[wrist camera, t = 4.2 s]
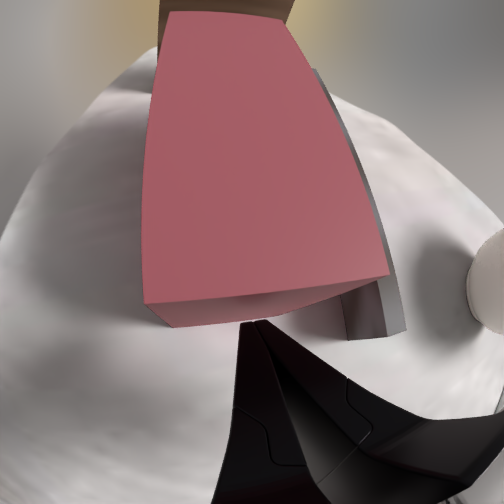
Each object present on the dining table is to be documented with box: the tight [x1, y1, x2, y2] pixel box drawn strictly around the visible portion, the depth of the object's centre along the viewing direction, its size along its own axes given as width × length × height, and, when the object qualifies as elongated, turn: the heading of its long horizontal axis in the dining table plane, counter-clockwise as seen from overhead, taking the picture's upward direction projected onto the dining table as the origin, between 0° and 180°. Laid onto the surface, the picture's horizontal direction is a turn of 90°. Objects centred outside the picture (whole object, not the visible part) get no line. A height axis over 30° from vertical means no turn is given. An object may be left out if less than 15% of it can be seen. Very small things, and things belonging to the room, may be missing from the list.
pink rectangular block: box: [141, 11, 390, 328], centre depth 12 cm, size 14×6×10 cm, turn 9°
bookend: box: [157, 0, 406, 341], centre depth 13 cm, size 23×13×12 cm, turn 9°
